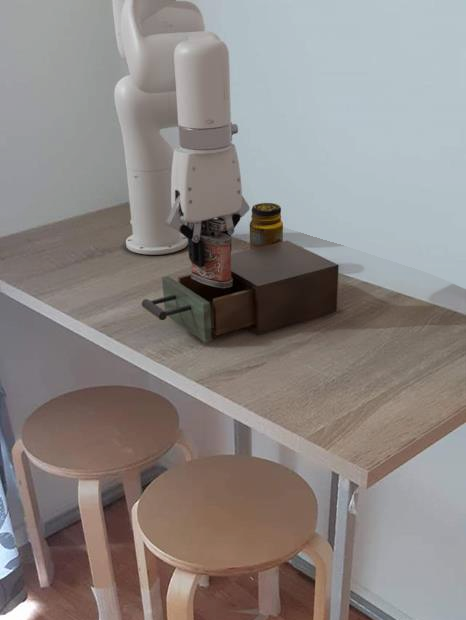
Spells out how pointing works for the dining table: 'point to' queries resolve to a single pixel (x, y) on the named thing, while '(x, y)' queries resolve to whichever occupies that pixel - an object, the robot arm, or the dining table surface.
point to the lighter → (214, 255)
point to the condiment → (265, 225)
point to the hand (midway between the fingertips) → (210, 260)
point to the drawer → (205, 306)
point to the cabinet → (286, 284)
